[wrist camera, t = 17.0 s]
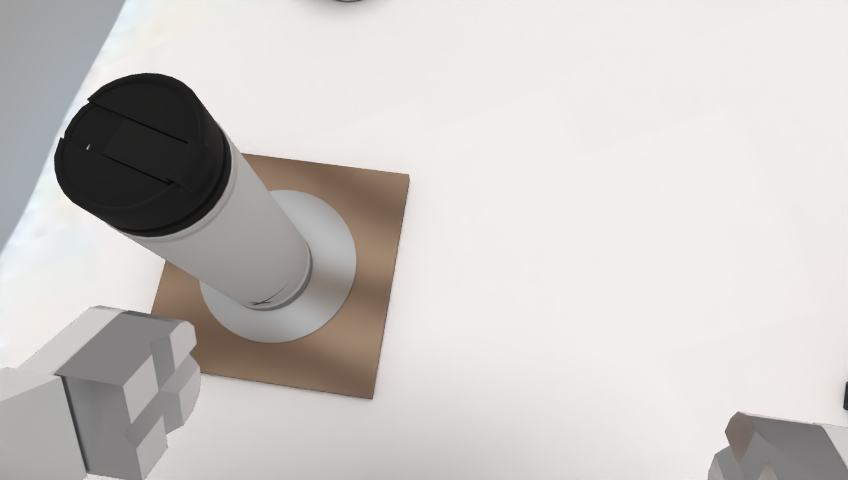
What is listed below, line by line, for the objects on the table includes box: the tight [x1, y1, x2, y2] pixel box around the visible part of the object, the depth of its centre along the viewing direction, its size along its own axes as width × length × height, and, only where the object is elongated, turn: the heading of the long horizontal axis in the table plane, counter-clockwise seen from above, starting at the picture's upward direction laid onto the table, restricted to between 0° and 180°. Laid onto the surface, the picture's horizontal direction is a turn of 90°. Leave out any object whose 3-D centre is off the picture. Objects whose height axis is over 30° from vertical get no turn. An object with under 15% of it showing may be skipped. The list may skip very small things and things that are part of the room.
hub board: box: [151, 153, 409, 399], centre depth 42 cm, size 16×16×1 cm
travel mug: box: [54, 73, 313, 311], centre depth 32 cm, size 6×7×20 cm
